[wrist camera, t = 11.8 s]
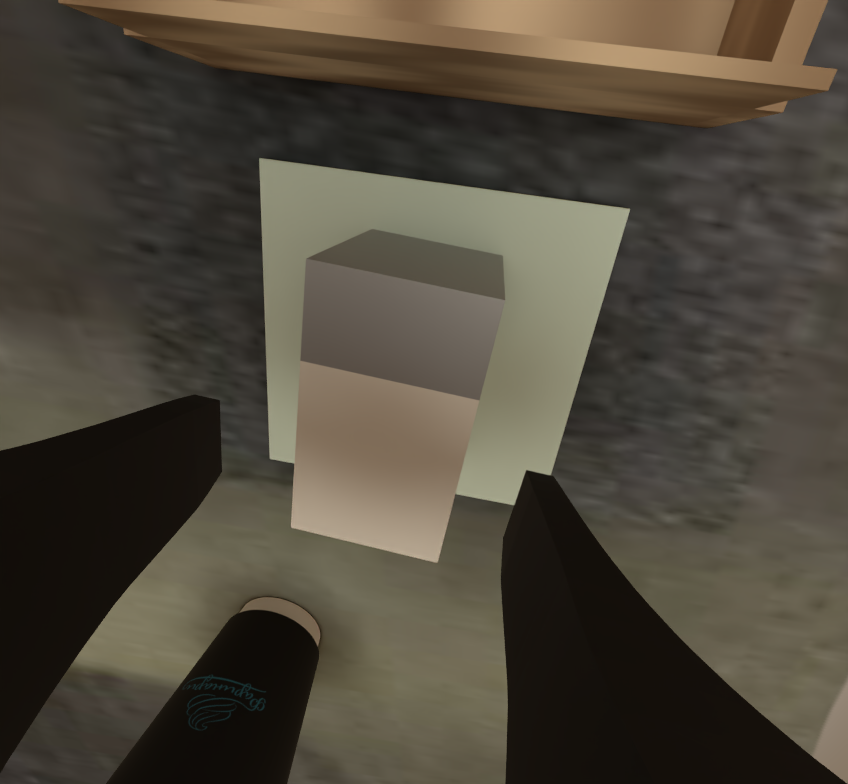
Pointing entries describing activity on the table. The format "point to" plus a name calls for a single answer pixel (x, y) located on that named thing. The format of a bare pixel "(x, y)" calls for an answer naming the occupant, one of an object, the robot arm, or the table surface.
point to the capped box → (390, 386)
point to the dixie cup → (234, 705)
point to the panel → (469, 228)
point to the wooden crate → (511, 49)
